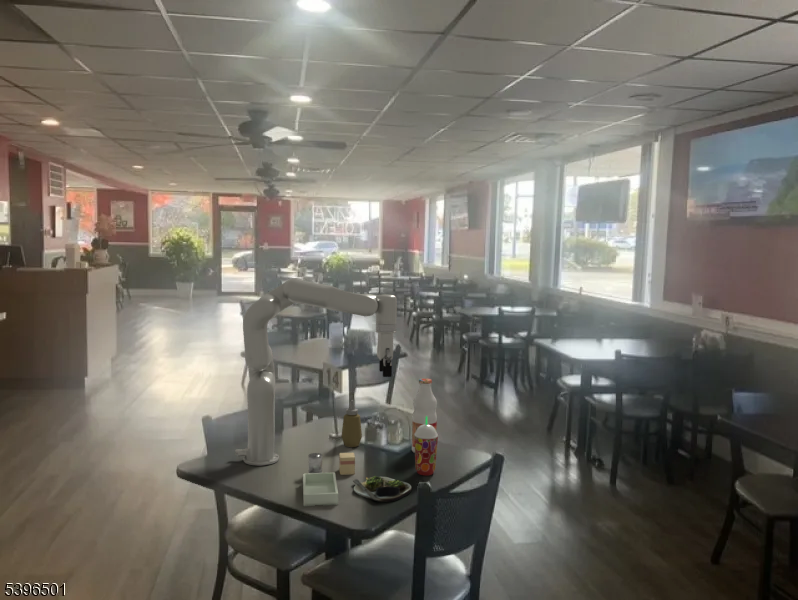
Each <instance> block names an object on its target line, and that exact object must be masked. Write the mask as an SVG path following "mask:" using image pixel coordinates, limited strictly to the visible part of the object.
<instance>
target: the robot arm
mask: <svg viewBox="0 0 798 600" xmlns="http://www.w3.org/2000/svg"><path fill="white" fill-rule="evenodd" d="M397 301H398V298H397V296H396V295H394V294H387V293H386V294H384V293H383V294H370V293H362V294H360V293H356V292H351V291H347V290H343V289H340V288H339V287H335V286H333V285H329V284H324V283H318V282H313V281H308V280H303V279H300V278H297V277H291V278H289V279H287V280H286V281H285V282H283V283H281V284H280V285H279V286H277V287H275V288H274V289H271V290H270V291H268V292H267V293H265V294H263V295H262V296H260V297H259V299H257V300H256V301H255V302H253V303H252V304H251V305H250V306H249V307H248V308H247V310H246V312H245V313H244V316H243V321H242V331H243V332H242V334H243V335H242V336H243V344H244V345H243V346H244V347H243V348H244V360H245V364H246V366H247V369H248V370H247V371H248V378H249V380H248V384H247V388H246V389H247V390H246V400H247V447H246V448H244V449H241V448H240V449H239V448H238V449H237V448H236V449H235V451H234V452H235V456H238V457H243V462H244V463H245V464H247V465H250V466H254V467H255V466H260V467H261V466H269V465H272V464H275V463H277V462H278V461H279V460H280V455H279V454H278V453H276V452H275V451H276V450H275V449H276V448H275V447H276V446H275V445H276V441H275V440H276V439H275V437H276V436H275V435H276V431H275V430H276V427H275V425H276V424H275V422H276V421H275V420H276V419H275V418H276V416H275V415H276V414H275V413H276V411H275V410H276V409H275V407H276V406H275V405H276V404H275V399H276V398H275V395H276V394H275V393H276V373H275V364H274V356H273V354H274V353H273V350H272V348H271V345H270V344H269V333H268V324H269V323H270V321H271V320H273V319H274V318H276V317H277V316H278V315H279V313H280V312H282V311H284V310H285V309H287V308H289V307H290V306H292V305H293V304H299V305H303V306H304V305H305V306H311V307H316V308H321V309H325V310H330V311H336V312H340V313H341V312H342V313H347V314H351V315H357V316H362V317H371V316H373V315H375V332H376V333H377V343H376V345H377V348H376V357H377V358H378V359H379V362H378V363H379V371H378V372H382V378H392V377H393V375H392V370H393V365H392V361H393V358H394V334H395V333H397V314H398V313H397V311H398V310H397V308H398V305H397V304H398V302H397Z"/></svg>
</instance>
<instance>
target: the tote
mask: <svg viewBox="0 0 798 600" xmlns="http://www.w3.org/2000/svg"><path fill="white" fill-rule="evenodd" d="M337 483H338V482H337V477H336V473H335V472H334V471H333V472H322V473H309V472H308V473H303V474H302V492H303V495H302V498H303V502H302V503H303V507H316V506H315V505H323V506H338V505H339V490H338V484H337Z"/></svg>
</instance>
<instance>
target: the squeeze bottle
mask: <svg viewBox="0 0 798 600" xmlns="http://www.w3.org/2000/svg"><path fill="white" fill-rule="evenodd" d="M358 413H359V409H358V408H356V405H355V400H354V399H351V400H350V401H349V405H348V408H346V409H345V414H344V415H343V420H342V421H343V422H342V428H341V439H342V442H343V444H344V447H347V448H356V447H359V445H360V444H361V441H362V437H363V432H362V423H361V422H362V421H361V415H360V414H358Z"/></svg>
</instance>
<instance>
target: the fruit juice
mask: <svg viewBox="0 0 798 600" xmlns="http://www.w3.org/2000/svg"><path fill="white" fill-rule="evenodd" d="M432 380H433V379H431V378H419V379H418V384H419V388H418V391H417V393H416V395H415V396H414V398H413V399H412V400H413V401H412V405H413V412H412V417H411V421H412V424H411V426H412V428H411V451H412V452H413V454H415V441H414V433H415V432H416V430H417V429H418V427H419V426H421V425H423V424H426V416H427V424H429V425H431V426H433V427H434V428H435V430H436V432H437V429H438V428H437V425H438V416H437V412H436V409H437V407H438V406H437V405H438V401H437V398H436V397H435V395H434V393H433V390H432V383H433V381H432Z"/></svg>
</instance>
